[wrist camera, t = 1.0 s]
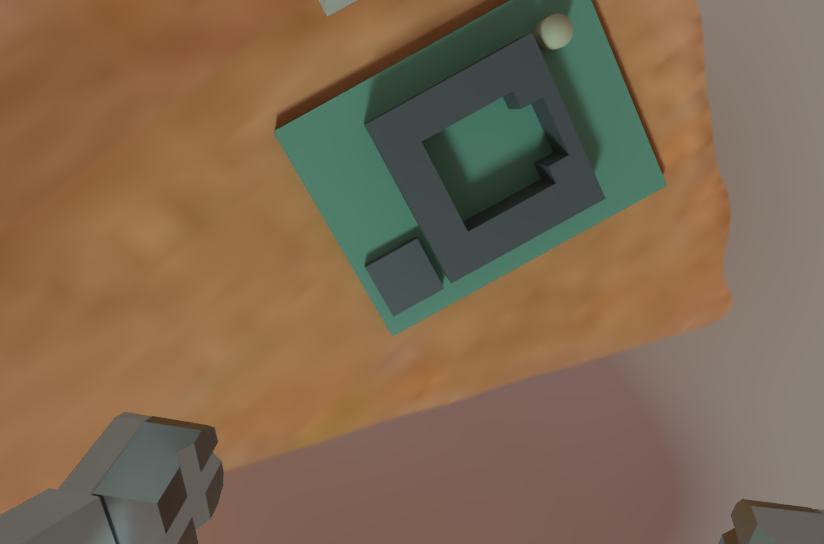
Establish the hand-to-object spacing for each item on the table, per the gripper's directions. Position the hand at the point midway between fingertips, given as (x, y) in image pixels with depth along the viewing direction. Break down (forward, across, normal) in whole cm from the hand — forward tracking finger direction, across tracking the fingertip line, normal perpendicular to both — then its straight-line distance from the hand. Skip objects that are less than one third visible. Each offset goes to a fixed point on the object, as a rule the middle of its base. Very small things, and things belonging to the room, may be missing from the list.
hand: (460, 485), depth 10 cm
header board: (+34, +2, +8) cm, 35 cm away
